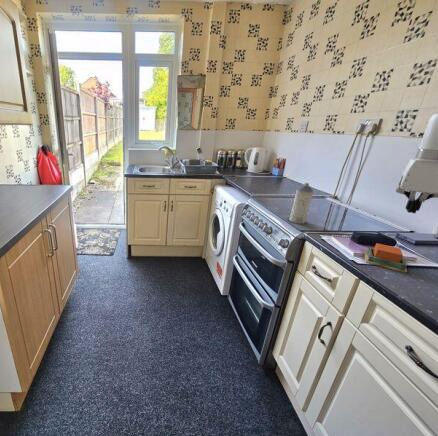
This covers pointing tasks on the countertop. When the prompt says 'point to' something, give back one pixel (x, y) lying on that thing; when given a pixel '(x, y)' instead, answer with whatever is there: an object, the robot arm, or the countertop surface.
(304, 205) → the aerosol can
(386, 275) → the countertop surface
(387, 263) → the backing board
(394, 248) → the orange block
